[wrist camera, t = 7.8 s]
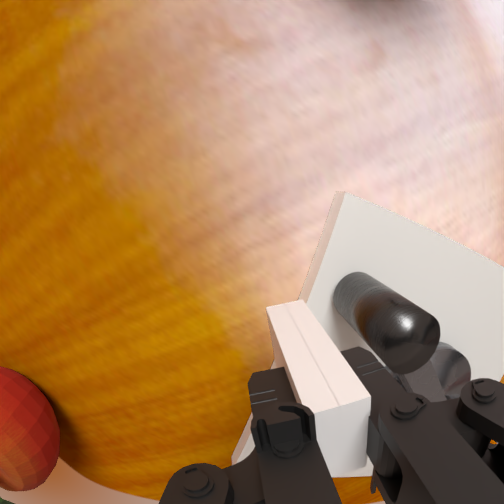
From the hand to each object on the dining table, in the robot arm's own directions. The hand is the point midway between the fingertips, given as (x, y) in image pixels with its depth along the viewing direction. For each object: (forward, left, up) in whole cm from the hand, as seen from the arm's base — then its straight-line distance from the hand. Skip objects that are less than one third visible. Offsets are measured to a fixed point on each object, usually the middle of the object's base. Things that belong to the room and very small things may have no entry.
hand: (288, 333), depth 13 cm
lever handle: (-11, +3, -4) cm, 12 cm away
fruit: (+15, +15, -6) cm, 22 cm away
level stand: (-13, +4, -5) cm, 14 cm away
